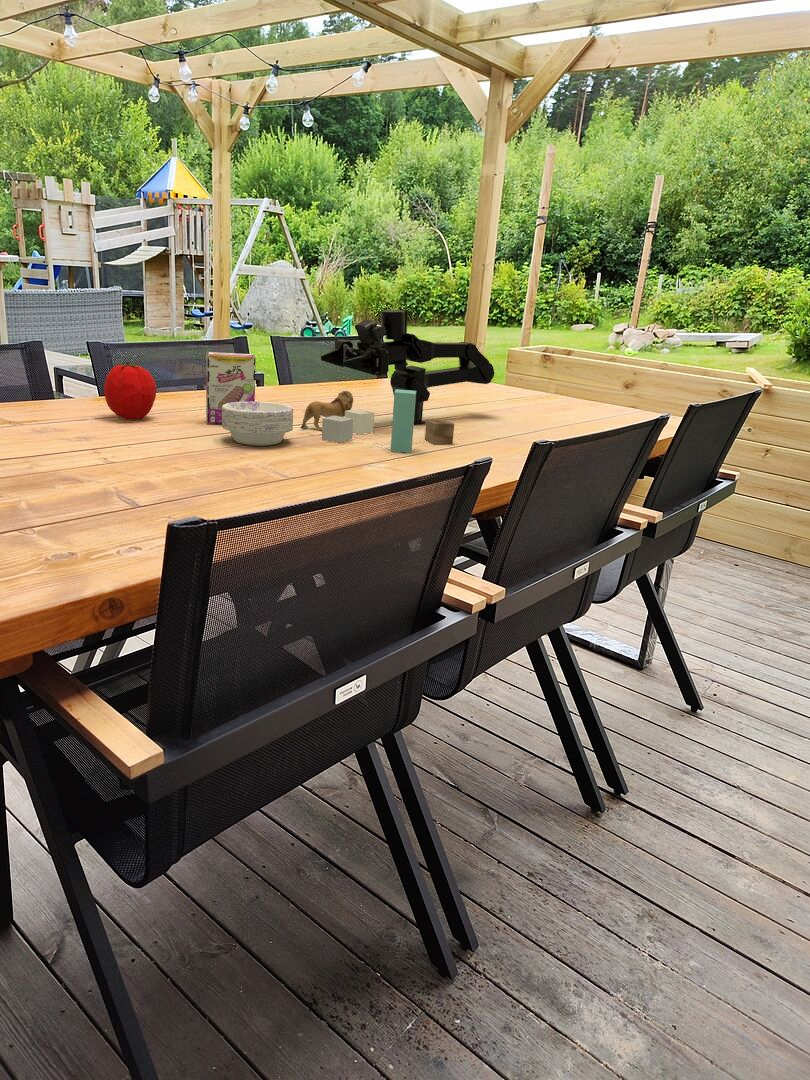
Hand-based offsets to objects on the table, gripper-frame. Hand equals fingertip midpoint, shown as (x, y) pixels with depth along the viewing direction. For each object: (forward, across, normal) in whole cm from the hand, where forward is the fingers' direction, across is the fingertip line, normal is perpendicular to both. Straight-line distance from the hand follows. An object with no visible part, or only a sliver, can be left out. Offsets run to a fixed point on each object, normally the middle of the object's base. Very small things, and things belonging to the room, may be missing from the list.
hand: (332, 361), depth 181 cm
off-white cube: (-4, +5, +17) cm, 18 cm away
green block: (-1, +25, +16) cm, 30 cm away
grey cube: (+7, +11, +16) cm, 20 cm away
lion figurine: (+1, -1, +16) cm, 17 cm away
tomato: (+40, -26, +13) cm, 49 cm away
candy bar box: (+21, -14, +15) cm, 29 cm away
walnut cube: (-15, +22, +18) cm, 32 cm away
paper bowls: (+24, +6, +14) cm, 29 cm away
